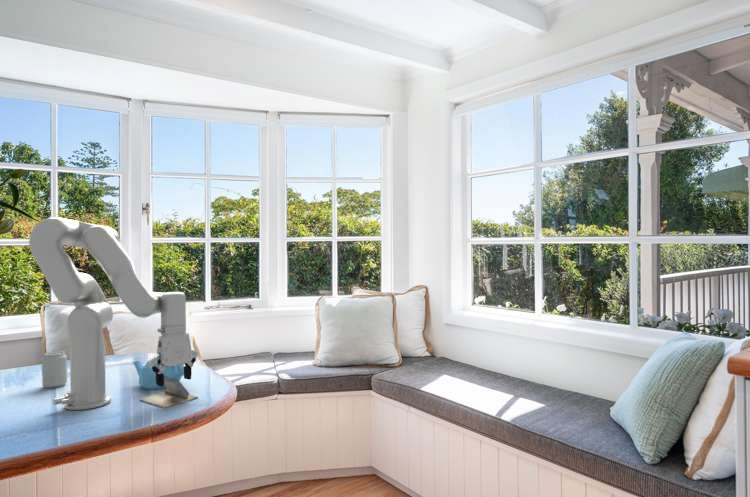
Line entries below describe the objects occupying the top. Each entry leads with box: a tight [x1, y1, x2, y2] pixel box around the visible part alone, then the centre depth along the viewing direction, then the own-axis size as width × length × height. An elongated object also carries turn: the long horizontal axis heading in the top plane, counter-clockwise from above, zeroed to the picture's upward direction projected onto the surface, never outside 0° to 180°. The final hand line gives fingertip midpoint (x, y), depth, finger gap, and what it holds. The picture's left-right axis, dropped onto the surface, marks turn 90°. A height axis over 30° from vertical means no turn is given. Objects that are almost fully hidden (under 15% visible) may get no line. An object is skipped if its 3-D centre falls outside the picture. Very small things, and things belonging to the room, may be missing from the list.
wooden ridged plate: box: [139, 388, 199, 409], centre depth 156 cm, size 12×14×2 cm
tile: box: [164, 376, 190, 398], centre depth 154 cm, size 2×8×7 cm
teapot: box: [133, 360, 185, 390], centre depth 173 cm, size 15×15×11 cm
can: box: [41, 350, 68, 389], centre depth 174 cm, size 8×8×12 cm
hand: (174, 382), depth 158 cm, fingers open, 9 cm apart
